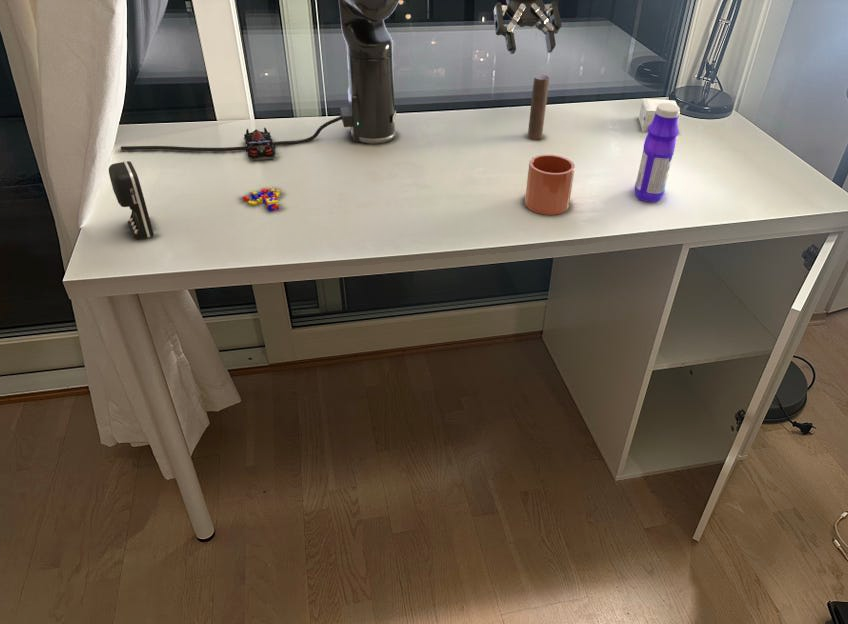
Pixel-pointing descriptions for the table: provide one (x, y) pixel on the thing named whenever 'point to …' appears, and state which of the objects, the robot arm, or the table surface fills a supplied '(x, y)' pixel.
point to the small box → (650, 111)
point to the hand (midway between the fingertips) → (532, 51)
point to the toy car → (259, 145)
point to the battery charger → (131, 197)
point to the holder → (549, 184)
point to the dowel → (538, 107)
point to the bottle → (657, 153)
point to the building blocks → (270, 202)
